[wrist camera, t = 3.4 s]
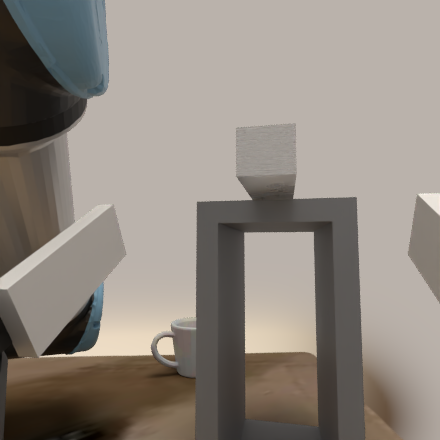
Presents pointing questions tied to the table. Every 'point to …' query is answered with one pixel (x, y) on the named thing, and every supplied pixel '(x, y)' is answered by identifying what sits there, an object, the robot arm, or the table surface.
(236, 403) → the shelf
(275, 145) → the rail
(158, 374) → the table surface
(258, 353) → the table surface
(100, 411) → the table surface
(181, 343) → the mug
